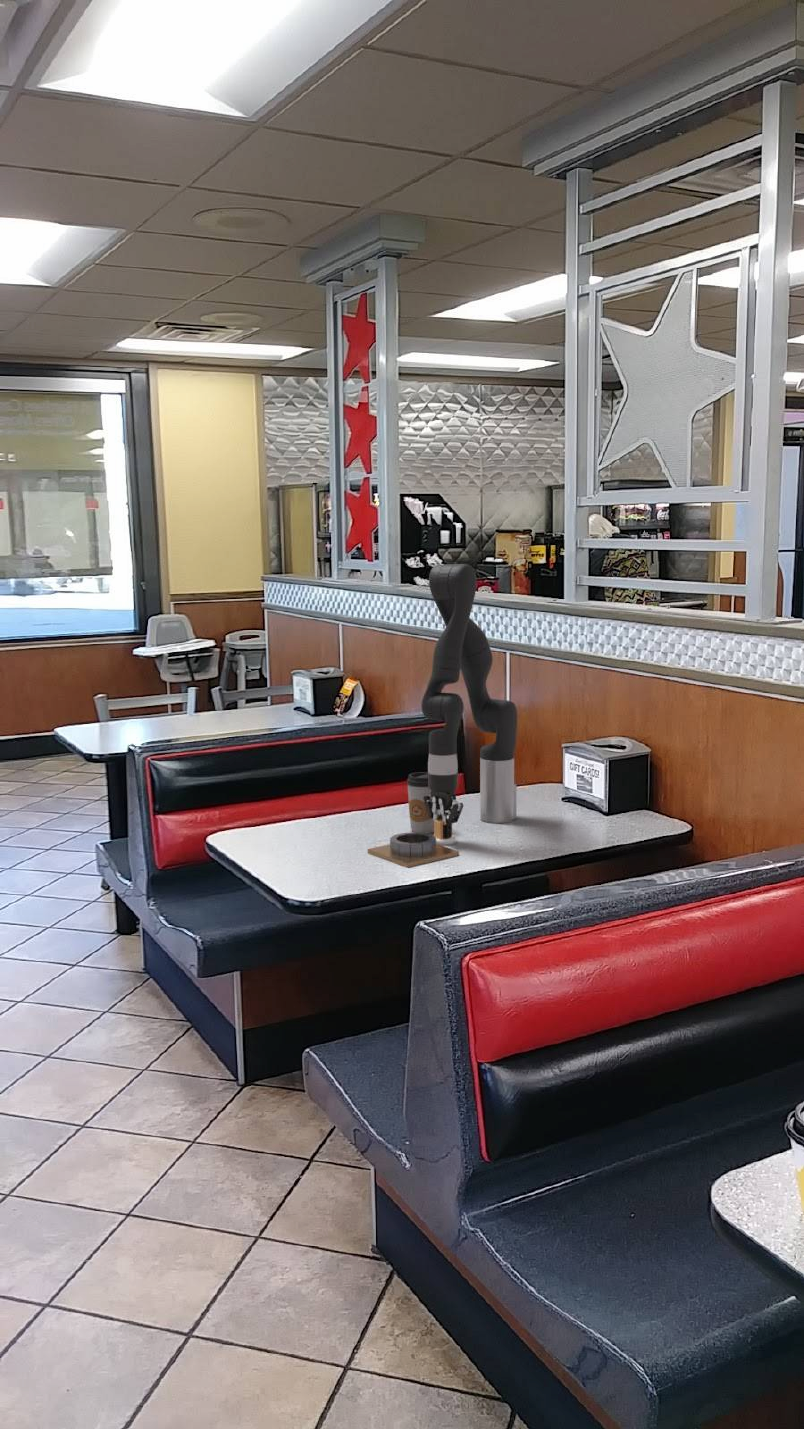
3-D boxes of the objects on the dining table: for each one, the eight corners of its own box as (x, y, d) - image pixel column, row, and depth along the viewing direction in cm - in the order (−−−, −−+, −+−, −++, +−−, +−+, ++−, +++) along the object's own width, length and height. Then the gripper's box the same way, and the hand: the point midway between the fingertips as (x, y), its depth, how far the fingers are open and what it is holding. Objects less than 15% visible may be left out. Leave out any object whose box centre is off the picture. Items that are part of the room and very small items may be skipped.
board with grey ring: (418, 841, 285) (418, 826, 285) (459, 855, 273) (459, 839, 272) (367, 853, 276) (367, 837, 275) (407, 867, 263) (407, 851, 263)
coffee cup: (401, 832, 295) (401, 776, 292) (416, 825, 302) (415, 770, 300) (429, 835, 291) (429, 779, 289) (443, 828, 298) (443, 773, 296)
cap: (444, 837, 290) (444, 816, 289) (460, 842, 285) (460, 820, 284) (425, 841, 286) (425, 820, 285) (441, 846, 281) (441, 824, 280)
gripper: (472, 773, 279) (472, 840, 282) (436, 764, 290) (437, 829, 293) (449, 777, 275) (449, 845, 277) (414, 768, 286) (414, 834, 288)
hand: (443, 836), depth 285 cm, fingers closed on cap, 2 cm apart
